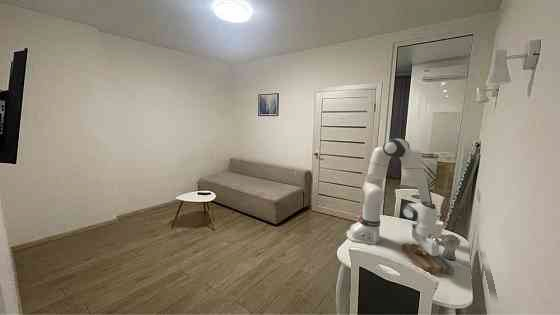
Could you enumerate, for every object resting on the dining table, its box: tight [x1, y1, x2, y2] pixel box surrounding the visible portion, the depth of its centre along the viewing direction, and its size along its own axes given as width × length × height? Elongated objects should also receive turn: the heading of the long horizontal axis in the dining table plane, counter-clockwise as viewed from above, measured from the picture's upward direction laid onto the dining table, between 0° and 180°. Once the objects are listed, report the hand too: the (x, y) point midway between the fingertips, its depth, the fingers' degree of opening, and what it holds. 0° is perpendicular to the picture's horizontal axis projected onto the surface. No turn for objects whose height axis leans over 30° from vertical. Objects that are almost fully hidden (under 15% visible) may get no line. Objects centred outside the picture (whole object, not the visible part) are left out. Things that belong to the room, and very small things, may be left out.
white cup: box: [435, 219, 444, 238], centre depth 152 cm, size 8×8×10 cm
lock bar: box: [412, 247, 430, 255], centre depth 124 cm, size 13×3×3 cm, turn 84°
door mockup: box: [401, 243, 455, 276], centre depth 123 cm, size 16×22×6 cm
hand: (423, 253), depth 122 cm, fingers closed
